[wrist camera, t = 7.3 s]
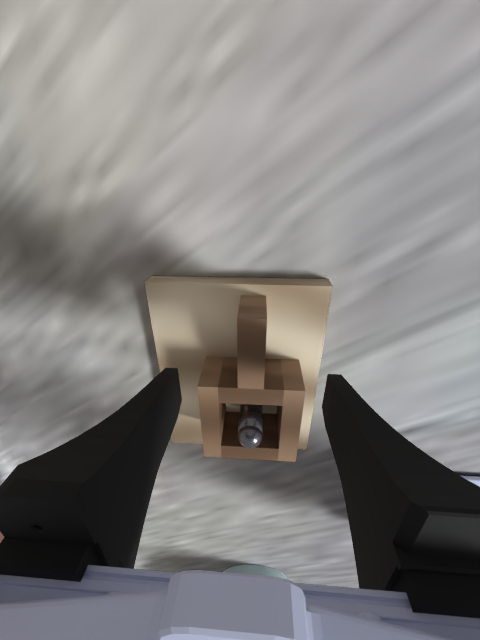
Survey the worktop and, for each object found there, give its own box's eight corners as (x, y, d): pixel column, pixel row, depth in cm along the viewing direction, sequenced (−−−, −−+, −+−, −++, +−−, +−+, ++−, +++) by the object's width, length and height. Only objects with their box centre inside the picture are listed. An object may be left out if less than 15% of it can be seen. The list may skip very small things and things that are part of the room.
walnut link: (291, 425, 21) (295, 462, 19) (210, 422, 22) (204, 456, 19) (306, 296, 16) (315, 320, 14) (201, 294, 17) (190, 317, 14)
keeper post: (262, 409, 21) (262, 455, 17) (240, 408, 21) (236, 453, 17) (262, 392, 20) (263, 437, 17) (240, 392, 20) (236, 436, 17)
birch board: (304, 437, 23) (306, 449, 22) (176, 430, 24) (172, 442, 23) (328, 279, 17) (332, 286, 16) (151, 276, 18) (144, 282, 17)
